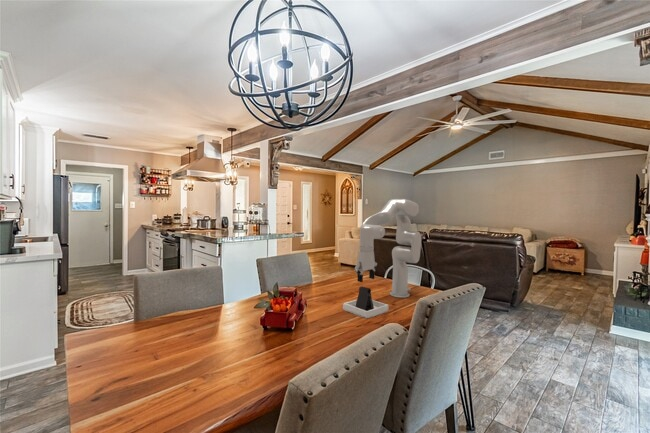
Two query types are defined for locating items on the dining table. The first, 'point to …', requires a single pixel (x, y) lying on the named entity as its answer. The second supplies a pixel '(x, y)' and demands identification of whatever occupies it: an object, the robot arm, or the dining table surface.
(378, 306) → the tray
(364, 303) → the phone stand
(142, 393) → the dining table surface
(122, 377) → the dining table surface
